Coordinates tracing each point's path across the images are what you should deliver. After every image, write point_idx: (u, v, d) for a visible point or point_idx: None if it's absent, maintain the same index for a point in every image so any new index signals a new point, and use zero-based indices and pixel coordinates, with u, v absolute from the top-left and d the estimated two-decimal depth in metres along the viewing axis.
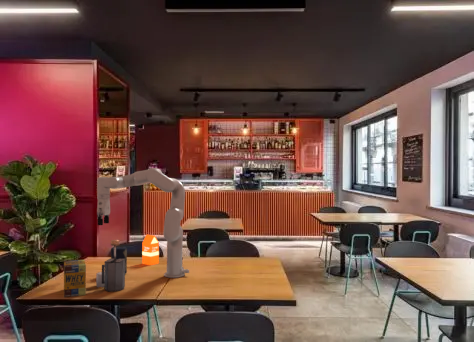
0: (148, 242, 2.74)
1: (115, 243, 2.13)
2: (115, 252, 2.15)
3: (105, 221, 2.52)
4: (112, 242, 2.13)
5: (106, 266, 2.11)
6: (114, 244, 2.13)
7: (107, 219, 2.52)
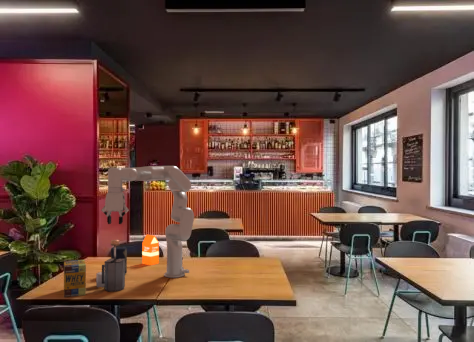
0: (148, 242, 2.74)
1: (115, 243, 2.13)
2: (115, 252, 2.15)
3: (110, 221, 2.15)
4: (112, 242, 2.13)
5: (106, 266, 2.11)
6: (114, 244, 2.13)
7: (110, 219, 2.16)
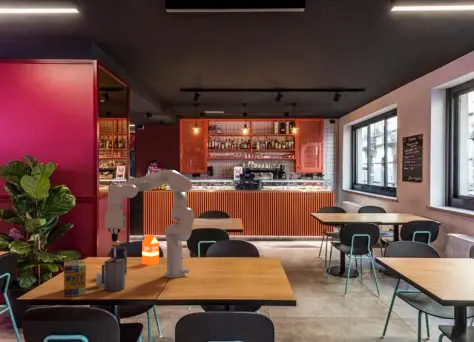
0: (148, 242, 2.74)
1: (115, 244, 2.13)
2: (115, 253, 2.15)
3: None
4: (112, 243, 2.13)
5: (106, 266, 2.11)
6: (114, 245, 2.13)
7: None
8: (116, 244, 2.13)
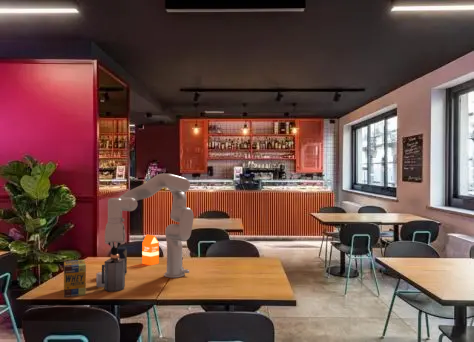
0: (148, 242, 2.74)
1: (115, 257, 2.13)
2: None
3: None
4: (112, 256, 2.13)
5: (106, 266, 2.11)
6: (114, 258, 2.13)
7: None
8: (116, 258, 2.13)
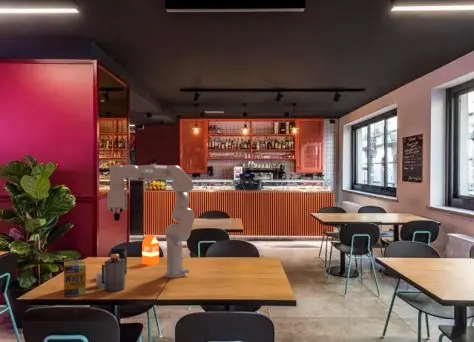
0: (148, 242, 2.74)
1: (115, 257, 2.13)
2: None
3: None
4: (112, 256, 2.13)
5: (106, 266, 2.11)
6: (114, 258, 2.13)
7: None
8: (116, 258, 2.13)
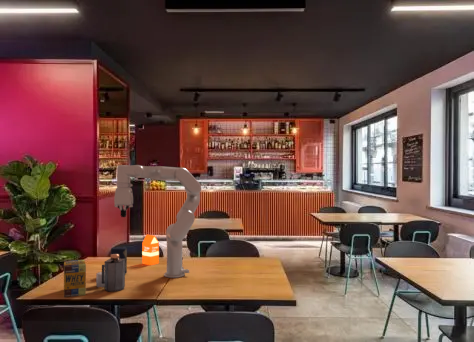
0: (148, 242, 2.74)
1: (115, 257, 2.13)
2: None
3: None
4: (112, 256, 2.13)
5: (106, 266, 2.11)
6: (114, 258, 2.13)
7: None
8: (116, 258, 2.13)
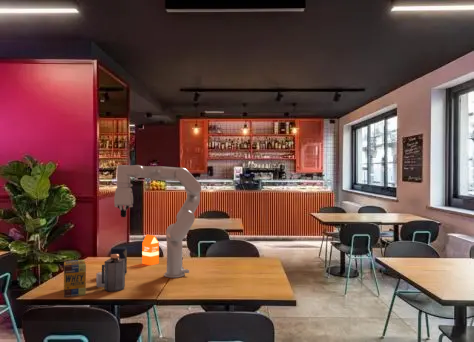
0: (148, 242, 2.74)
1: (115, 257, 2.13)
2: None
3: None
4: (112, 256, 2.13)
5: (106, 266, 2.11)
6: (114, 258, 2.13)
7: None
8: (116, 258, 2.13)
